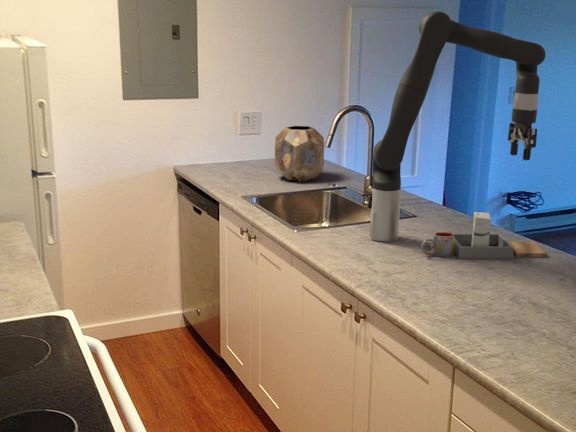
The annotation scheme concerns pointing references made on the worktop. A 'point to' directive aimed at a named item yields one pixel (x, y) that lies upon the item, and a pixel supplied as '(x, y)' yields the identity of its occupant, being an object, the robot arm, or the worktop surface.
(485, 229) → the ink box
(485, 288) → the worktop surface
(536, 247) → the tan flat slab
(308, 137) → the planter
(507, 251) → the parts bin
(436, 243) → the mug
